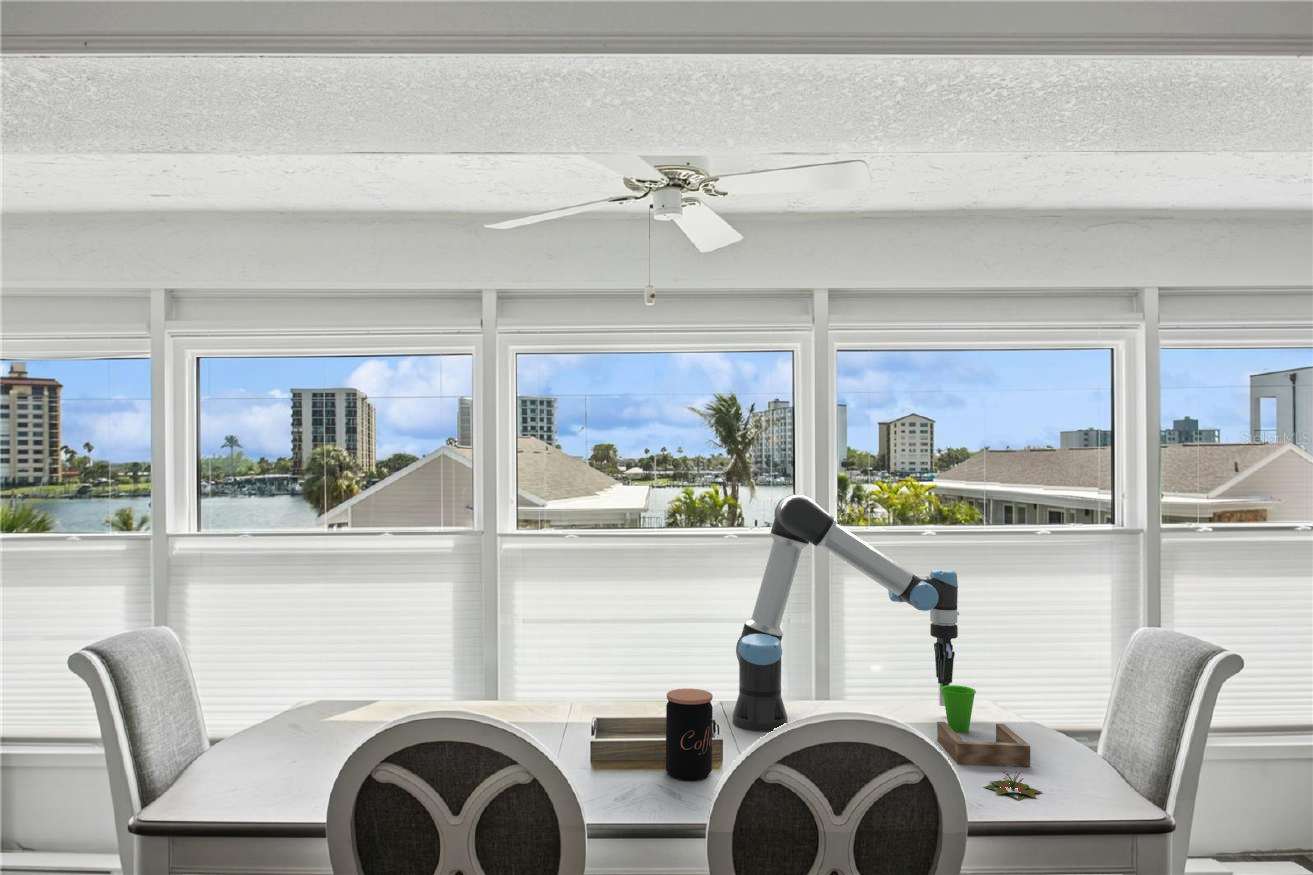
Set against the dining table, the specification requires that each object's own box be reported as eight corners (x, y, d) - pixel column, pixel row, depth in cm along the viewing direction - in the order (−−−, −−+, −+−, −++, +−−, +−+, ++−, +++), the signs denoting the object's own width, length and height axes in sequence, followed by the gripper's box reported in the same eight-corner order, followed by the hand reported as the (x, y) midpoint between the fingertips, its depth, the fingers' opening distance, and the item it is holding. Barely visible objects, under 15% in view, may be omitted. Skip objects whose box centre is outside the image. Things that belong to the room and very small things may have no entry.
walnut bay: (957, 764, 199) (957, 743, 200) (937, 741, 217) (937, 721, 218) (1030, 767, 198) (1030, 746, 199) (1003, 743, 216) (1003, 723, 217)
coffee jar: (679, 785, 184) (680, 702, 184) (657, 769, 193) (658, 691, 194) (720, 777, 189) (721, 697, 189) (696, 763, 198) (697, 686, 199)
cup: (971, 725, 231) (970, 685, 232) (980, 735, 222) (980, 694, 223) (937, 724, 232) (937, 684, 233) (945, 734, 223) (945, 692, 224)
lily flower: (1054, 796, 182) (1054, 775, 182) (1020, 807, 175) (1020, 785, 175) (1005, 779, 192) (1005, 759, 192) (972, 789, 185) (971, 768, 186)
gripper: (963, 627, 236) (964, 712, 235) (950, 619, 249) (950, 699, 248) (936, 626, 236) (937, 711, 235) (925, 619, 249) (925, 699, 248)
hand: (944, 705), depth 242 cm, fingers closed
